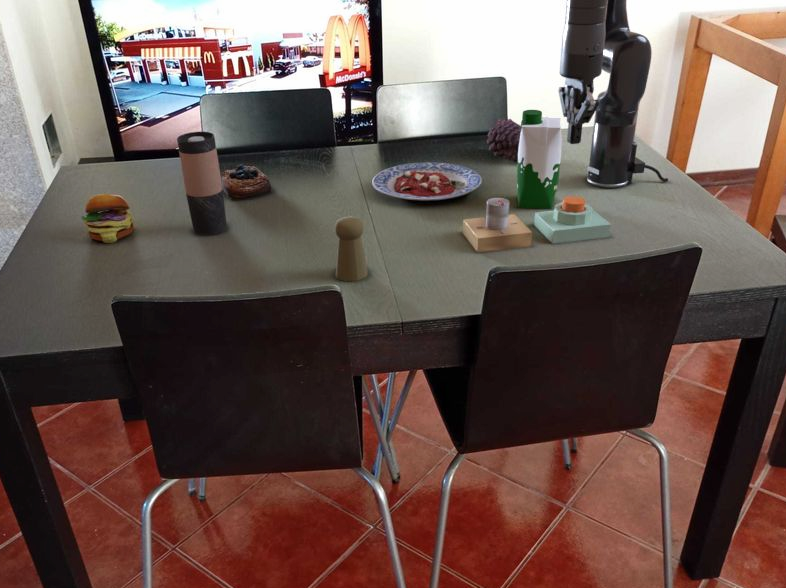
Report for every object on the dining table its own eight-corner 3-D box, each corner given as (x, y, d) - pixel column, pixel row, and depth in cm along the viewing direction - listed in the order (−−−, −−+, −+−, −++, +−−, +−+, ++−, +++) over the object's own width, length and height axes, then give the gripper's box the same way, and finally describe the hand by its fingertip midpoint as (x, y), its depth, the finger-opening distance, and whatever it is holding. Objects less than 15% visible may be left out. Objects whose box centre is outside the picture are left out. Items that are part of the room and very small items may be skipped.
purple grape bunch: (546, 161, 194) (536, 133, 186) (513, 183, 195) (501, 156, 187) (513, 126, 205) (503, 99, 197) (482, 147, 206) (470, 121, 198)
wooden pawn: (334, 268, 145) (331, 213, 139) (366, 266, 145) (363, 211, 139) (336, 282, 140) (332, 226, 134) (369, 279, 140) (366, 224, 134)
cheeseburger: (84, 247, 158) (73, 198, 155) (92, 239, 168) (82, 194, 165) (134, 241, 159) (124, 192, 156) (139, 233, 169) (130, 188, 166)
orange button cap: (578, 204, 155) (579, 195, 154) (588, 212, 152) (589, 202, 151) (558, 207, 155) (559, 197, 154) (567, 214, 151) (568, 205, 150)
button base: (587, 219, 161) (590, 196, 158) (609, 237, 152) (612, 213, 150) (534, 225, 159) (535, 202, 156) (552, 243, 151) (554, 220, 148)
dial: (482, 223, 153) (483, 197, 150) (502, 220, 154) (503, 195, 151) (491, 231, 150) (492, 205, 147) (511, 227, 150) (513, 202, 148)
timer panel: (513, 227, 158) (514, 213, 157) (530, 246, 150) (532, 231, 148) (462, 233, 157) (463, 218, 155) (477, 252, 148) (478, 237, 147)
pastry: (260, 179, 190) (258, 156, 187) (276, 194, 181) (274, 170, 178) (218, 187, 187) (214, 164, 183) (232, 202, 177) (228, 178, 174)
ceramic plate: (355, 201, 175) (355, 189, 173) (394, 167, 195) (394, 155, 193) (463, 213, 166) (464, 200, 164) (493, 176, 186) (493, 164, 184)
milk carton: (515, 195, 174) (521, 106, 164) (556, 196, 173) (564, 107, 162) (514, 209, 167) (520, 117, 157) (556, 210, 165) (565, 118, 155)
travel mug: (234, 223, 166) (221, 132, 155) (217, 237, 160) (202, 143, 149) (203, 220, 168) (188, 130, 158) (185, 234, 162) (169, 140, 152)
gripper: (548, 44, 143) (541, 135, 152) (579, 56, 132) (570, 154, 141) (585, 40, 144) (576, 131, 153) (619, 53, 133) (607, 150, 142)
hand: (573, 142), depth 147 cm, fingers closed
